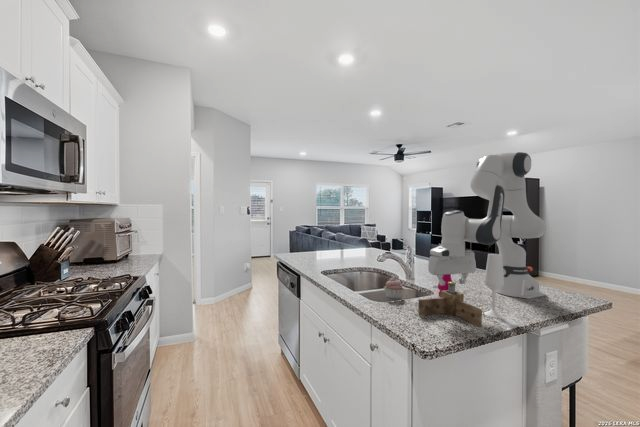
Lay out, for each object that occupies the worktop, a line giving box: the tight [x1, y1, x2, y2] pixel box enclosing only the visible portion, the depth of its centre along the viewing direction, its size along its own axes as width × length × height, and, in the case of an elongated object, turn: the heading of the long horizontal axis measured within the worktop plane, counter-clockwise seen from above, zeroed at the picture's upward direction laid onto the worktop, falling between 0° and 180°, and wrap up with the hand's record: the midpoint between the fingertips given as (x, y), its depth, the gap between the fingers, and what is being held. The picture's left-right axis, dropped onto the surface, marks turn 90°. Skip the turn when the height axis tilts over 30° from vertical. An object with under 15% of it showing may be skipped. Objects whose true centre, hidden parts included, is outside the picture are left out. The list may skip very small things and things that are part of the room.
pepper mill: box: [437, 274, 453, 298], centre depth 140 cm, size 7×7×20 cm
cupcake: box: [383, 276, 405, 301], centre depth 136 cm, size 9×9×10 cm
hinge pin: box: [448, 281, 457, 294], centre depth 118 cm, size 3×3×8 cm
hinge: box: [417, 290, 483, 327], centre depth 111 cm, size 18×18×8 cm
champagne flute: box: [483, 253, 504, 319], centre depth 116 cm, size 7×7×24 cm
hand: (452, 284), depth 119 cm, fingers open, 8 cm apart
